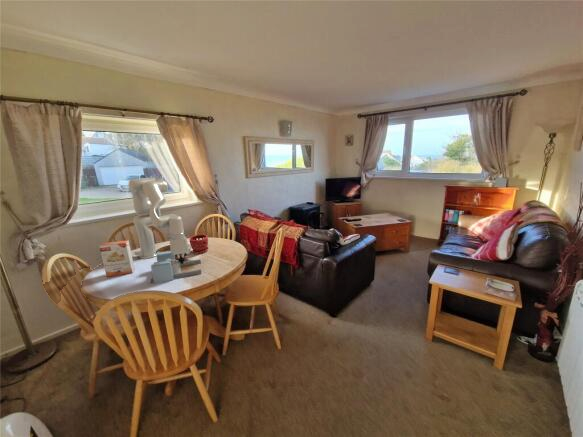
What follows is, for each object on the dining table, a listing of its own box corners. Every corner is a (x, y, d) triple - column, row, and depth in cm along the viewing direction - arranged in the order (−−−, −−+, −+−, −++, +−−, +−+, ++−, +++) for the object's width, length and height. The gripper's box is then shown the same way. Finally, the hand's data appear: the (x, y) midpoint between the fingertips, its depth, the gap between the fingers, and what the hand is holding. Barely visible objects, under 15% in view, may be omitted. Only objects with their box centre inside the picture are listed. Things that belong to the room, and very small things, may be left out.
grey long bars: (150, 283, 137) (150, 279, 136) (155, 270, 153) (154, 266, 152) (201, 273, 147) (201, 270, 146) (200, 262, 163) (200, 259, 162)
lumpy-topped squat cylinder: (159, 272, 150) (156, 259, 148) (181, 268, 155) (179, 256, 152) (156, 279, 141) (154, 266, 138) (180, 275, 145) (178, 262, 143)
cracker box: (106, 277, 145) (98, 246, 139) (110, 273, 150) (102, 242, 145) (132, 273, 149) (125, 242, 144) (135, 269, 154) (128, 239, 149)
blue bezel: (154, 283, 136) (150, 265, 133) (159, 268, 155) (156, 252, 152) (173, 280, 140) (170, 262, 137) (175, 265, 158) (173, 250, 155)
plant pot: (197, 247, 189) (195, 233, 186) (212, 248, 187) (210, 234, 183) (187, 254, 177) (185, 239, 174) (203, 255, 174) (201, 240, 171)
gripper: (163, 239, 139) (168, 267, 143) (190, 235, 144) (194, 263, 149) (165, 235, 145) (169, 262, 150) (190, 232, 151) (194, 258, 155)
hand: (182, 262), depth 149 cm, fingers closed
